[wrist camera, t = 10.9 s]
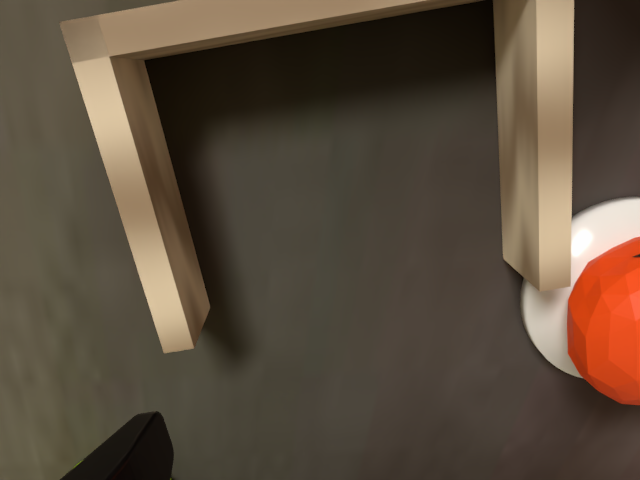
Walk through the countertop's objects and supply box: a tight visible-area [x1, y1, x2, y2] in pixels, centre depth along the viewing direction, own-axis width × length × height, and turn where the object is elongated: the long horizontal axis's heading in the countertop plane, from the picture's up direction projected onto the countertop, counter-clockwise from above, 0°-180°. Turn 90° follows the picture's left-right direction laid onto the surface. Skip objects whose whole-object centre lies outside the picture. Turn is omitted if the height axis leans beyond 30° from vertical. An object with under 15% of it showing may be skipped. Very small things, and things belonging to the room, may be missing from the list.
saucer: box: [520, 196, 640, 378], centre depth 22 cm, size 9×9×1 cm
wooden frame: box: [59, 0, 574, 353], centre depth 18 cm, size 12×16×4 cm
